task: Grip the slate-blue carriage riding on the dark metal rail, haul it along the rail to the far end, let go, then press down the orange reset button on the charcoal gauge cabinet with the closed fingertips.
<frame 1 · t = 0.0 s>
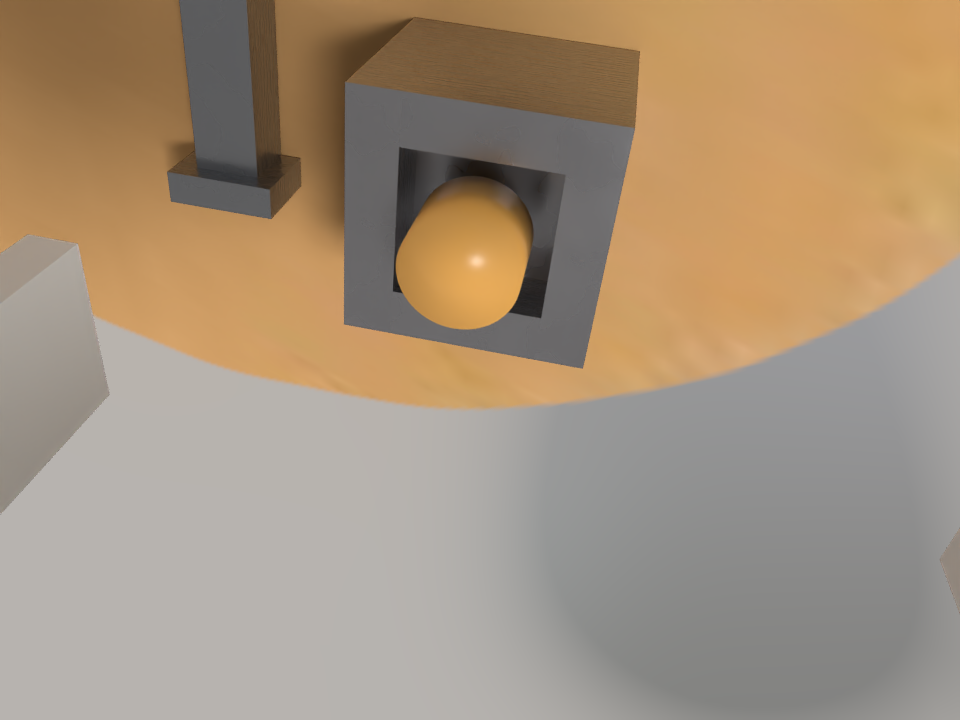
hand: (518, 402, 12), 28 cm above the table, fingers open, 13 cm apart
reset button: (467, 252, 29), point 11 cm above the table, slide at 0.0 cm
gauge cabinet: (511, 144, 39), on the table
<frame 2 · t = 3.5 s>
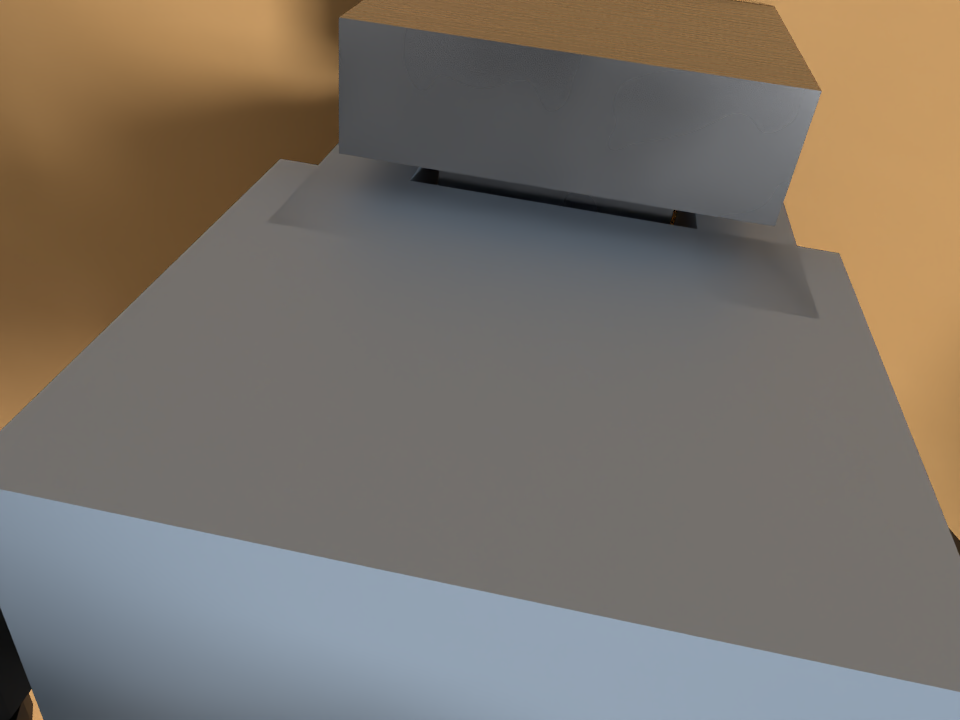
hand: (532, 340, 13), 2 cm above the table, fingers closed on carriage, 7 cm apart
rail: (505, 517, 18), on the table
carriage: (500, 481, 10), point 5 cm above the table, slide at 0.0 cm, touching gripper
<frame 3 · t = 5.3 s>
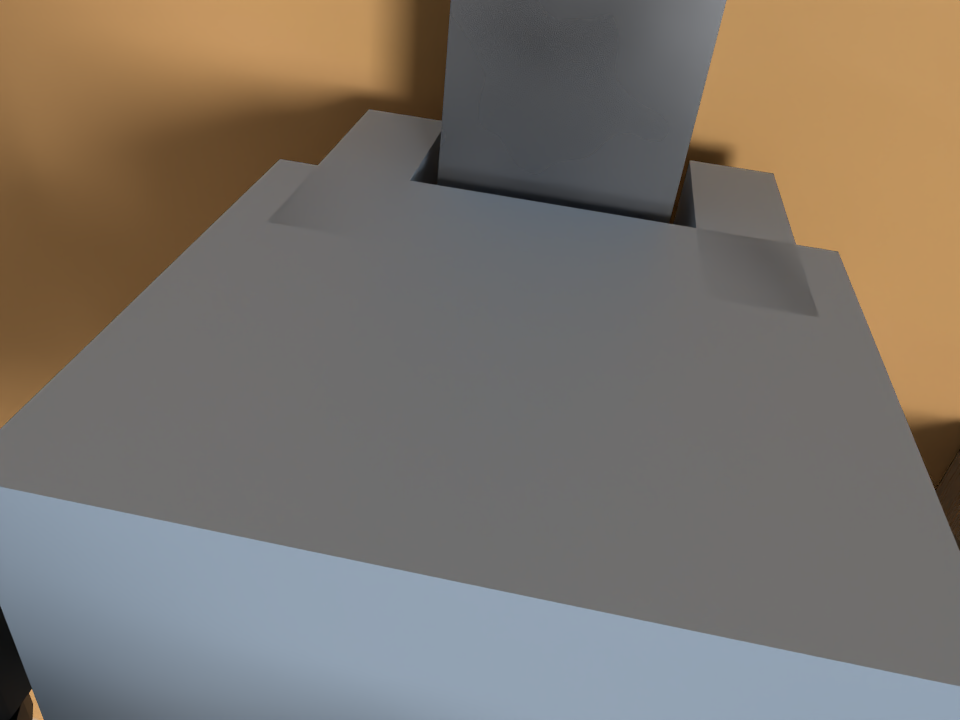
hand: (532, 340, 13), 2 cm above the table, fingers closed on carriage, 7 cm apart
rail: (551, 245, 14), on the table
carriage: (500, 480, 10), point 5 cm above the table, slide at 6.8 cm, touching gripper
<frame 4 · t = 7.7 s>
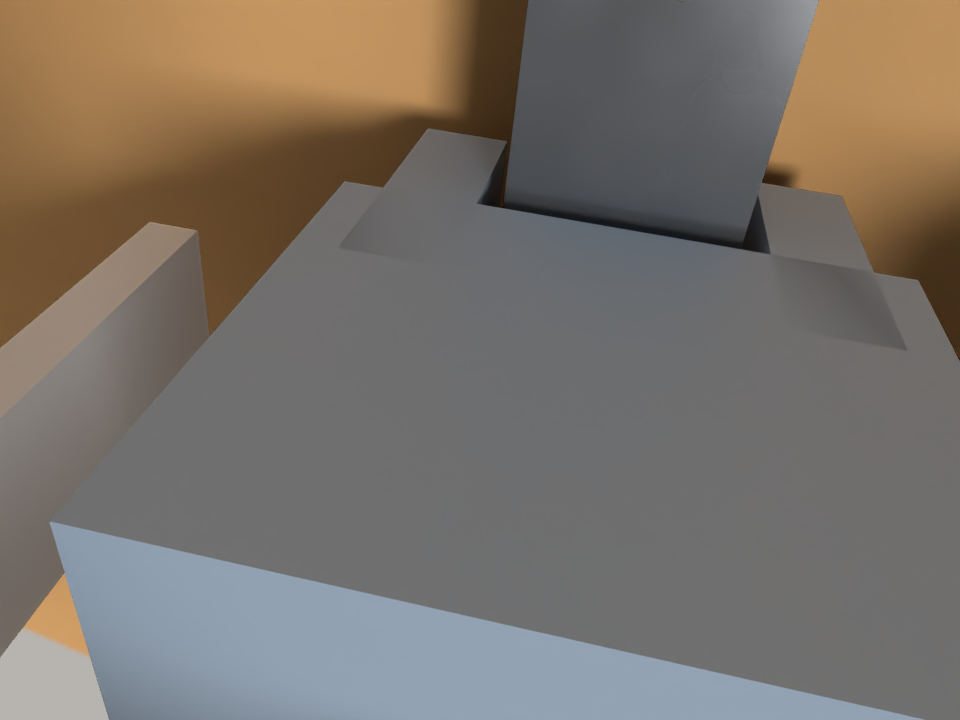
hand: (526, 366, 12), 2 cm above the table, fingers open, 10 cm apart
carriage: (566, 509, 10), point 5 cm above the table, slide at 12.0 cm
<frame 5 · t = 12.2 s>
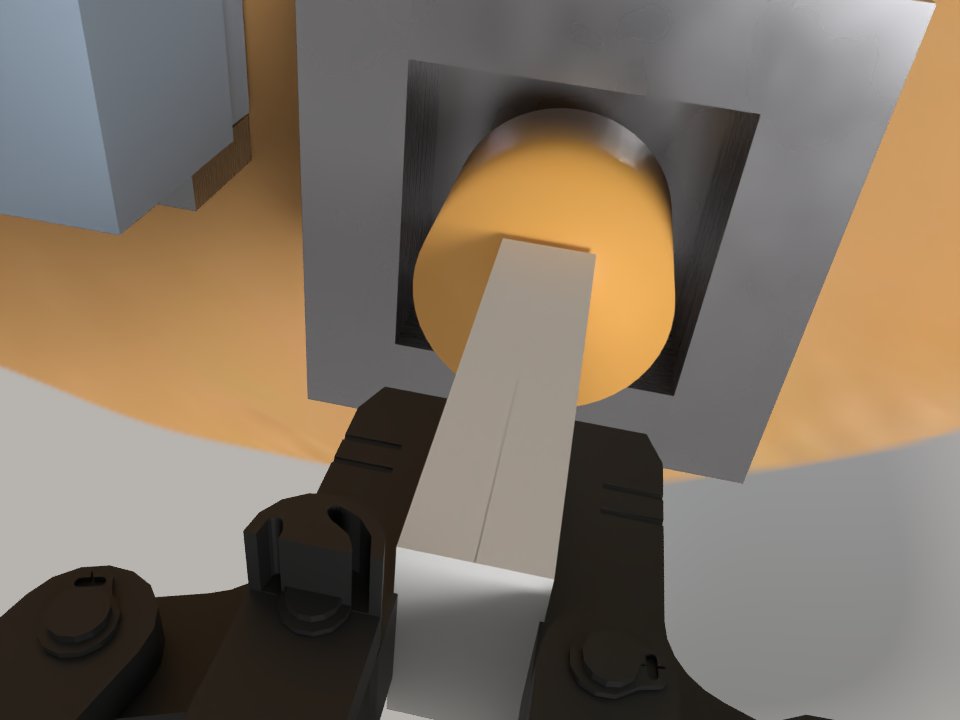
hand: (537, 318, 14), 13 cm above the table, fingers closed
reset button: (551, 256, 15), point 11 cm above the table, slide at 0.7 cm, touching gripper
gauge cabinet: (589, 88, 24), on the table
carriage: (55, 25, 20), point 5 cm above the table, slide at 12.0 cm
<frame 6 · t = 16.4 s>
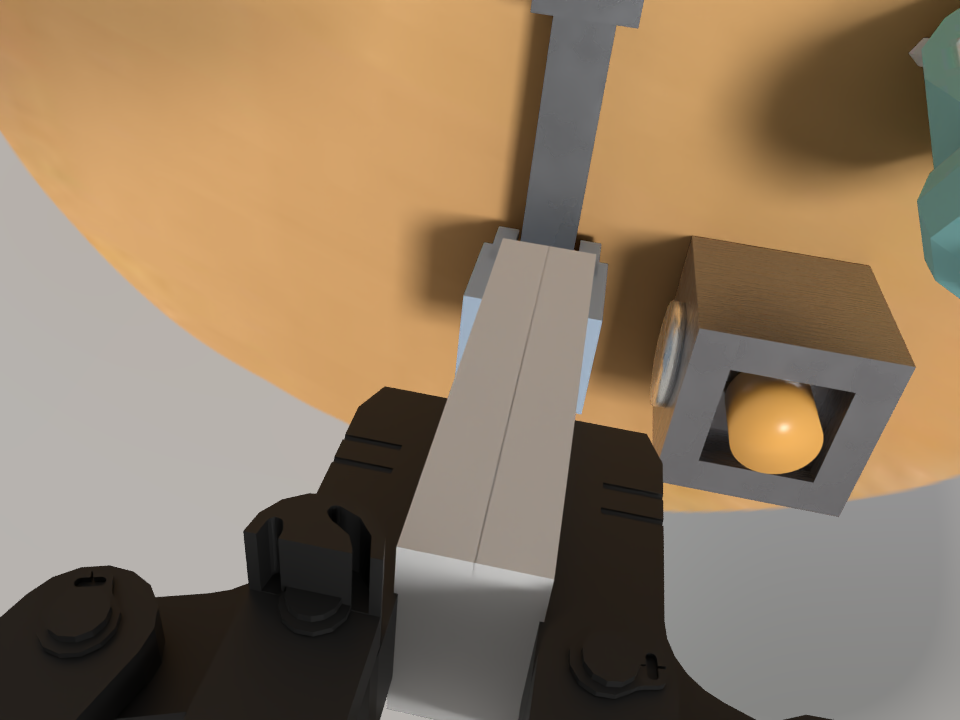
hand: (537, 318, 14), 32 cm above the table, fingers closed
reset button: (771, 418, 42), point 9 cm above the table, slide at 2.0 cm
rail: (559, 180, 46), on the table
gauge cabinet: (754, 324, 49), on the table
carriage: (534, 315, 46), point 5 cm above the table, slide at 12.0 cm
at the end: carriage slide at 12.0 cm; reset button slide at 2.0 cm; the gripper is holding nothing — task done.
